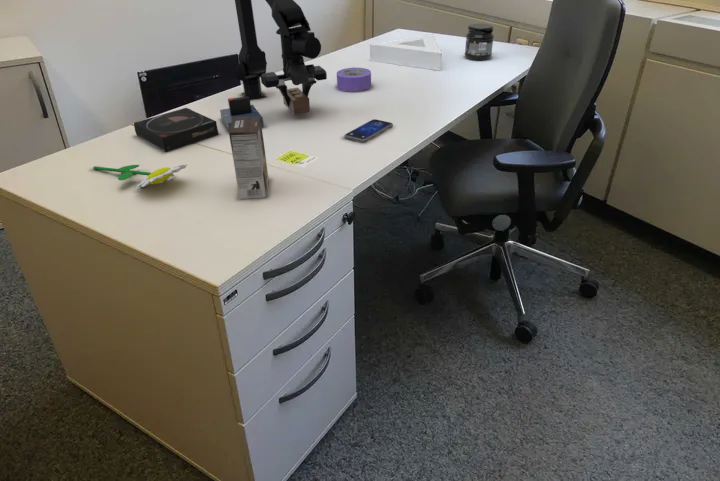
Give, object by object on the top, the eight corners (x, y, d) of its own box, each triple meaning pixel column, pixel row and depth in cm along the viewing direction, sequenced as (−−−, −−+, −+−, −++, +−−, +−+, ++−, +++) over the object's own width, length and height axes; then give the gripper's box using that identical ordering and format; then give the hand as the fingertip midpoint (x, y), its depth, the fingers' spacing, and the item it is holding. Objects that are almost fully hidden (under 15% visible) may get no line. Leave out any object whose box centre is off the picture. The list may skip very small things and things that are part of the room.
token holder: (283, 103, 171) (282, 88, 169) (299, 101, 173) (297, 86, 170) (294, 115, 163) (292, 99, 160) (310, 112, 164) (309, 96, 162)
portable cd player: (187, 119, 167) (185, 107, 164) (218, 134, 156) (216, 121, 154) (136, 135, 157) (132, 122, 155) (165, 152, 147) (162, 138, 145)
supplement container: (475, 52, 224) (478, 21, 218) (496, 57, 218) (500, 25, 211) (458, 57, 218) (461, 26, 212) (480, 62, 212) (483, 30, 205)
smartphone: (342, 135, 152) (373, 118, 162) (342, 138, 152) (373, 121, 162) (364, 140, 148) (394, 122, 158) (364, 143, 148) (394, 126, 159)
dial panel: (221, 119, 166) (219, 109, 165) (254, 114, 170) (253, 104, 168) (229, 133, 157) (227, 122, 155) (264, 127, 160) (263, 116, 159)
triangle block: (440, 70, 204) (441, 53, 201) (370, 71, 205) (370, 54, 201) (432, 49, 229) (433, 34, 226) (370, 51, 230) (369, 35, 226)
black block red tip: (250, 110, 163) (248, 95, 161) (251, 112, 162) (249, 96, 159) (230, 113, 161) (227, 98, 159) (231, 115, 160) (229, 100, 158)
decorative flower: (76, 187, 135) (160, 199, 121) (69, 169, 133) (154, 179, 118) (119, 170, 145) (201, 179, 130) (113, 152, 143) (196, 159, 128)
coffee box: (242, 181, 132) (232, 116, 123) (269, 179, 132) (261, 115, 123) (238, 199, 124) (227, 132, 115) (267, 198, 124) (258, 130, 115)
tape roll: (331, 90, 188) (330, 75, 185) (345, 80, 197) (344, 66, 194) (363, 93, 184) (363, 78, 181) (376, 83, 193) (376, 68, 190)
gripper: (267, 63, 149) (273, 118, 158) (332, 54, 155) (334, 108, 164) (257, 53, 158) (263, 106, 167) (318, 45, 164) (321, 97, 173)
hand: (296, 104), depth 167 cm, fingers closed on token holder, 5 cm apart
